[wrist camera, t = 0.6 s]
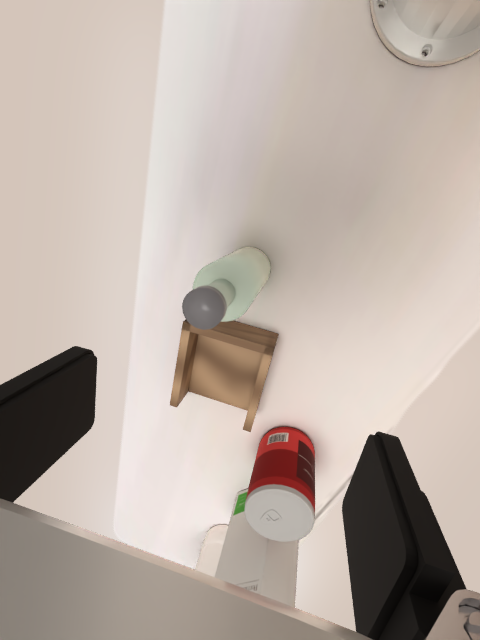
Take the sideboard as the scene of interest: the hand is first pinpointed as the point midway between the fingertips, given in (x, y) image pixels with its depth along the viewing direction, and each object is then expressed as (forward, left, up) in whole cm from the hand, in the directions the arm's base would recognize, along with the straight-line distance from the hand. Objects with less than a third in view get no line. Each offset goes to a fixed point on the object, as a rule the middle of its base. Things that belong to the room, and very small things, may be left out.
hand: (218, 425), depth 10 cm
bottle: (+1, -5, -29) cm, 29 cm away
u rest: (+14, -5, -29) cm, 32 cm away
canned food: (+24, +6, -29) cm, 38 cm away
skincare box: (+35, +6, -29) cm, 46 cm away
